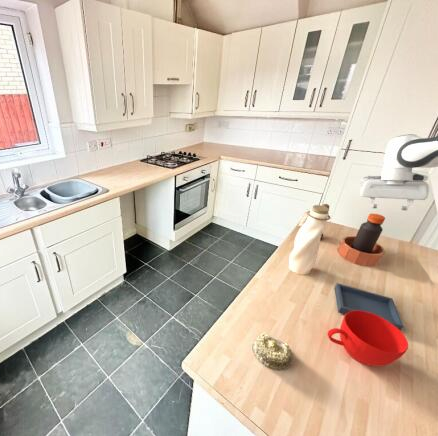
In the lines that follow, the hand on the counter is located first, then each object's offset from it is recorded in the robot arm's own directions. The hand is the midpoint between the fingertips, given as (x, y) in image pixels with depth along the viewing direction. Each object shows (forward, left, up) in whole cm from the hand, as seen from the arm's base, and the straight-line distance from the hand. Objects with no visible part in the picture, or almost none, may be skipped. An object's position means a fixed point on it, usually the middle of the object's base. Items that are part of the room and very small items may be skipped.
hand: (388, 209), depth 103 cm
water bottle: (+29, +32, -20) cm, 47 cm away
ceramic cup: (+15, +66, -20) cm, 70 cm away
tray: (+9, +45, -20) cm, 50 cm away
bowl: (+6, +11, -20) cm, 23 cm away
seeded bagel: (+35, +77, -20) cm, 86 cm away
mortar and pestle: (+22, +2, -20) cm, 30 cm away
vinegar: (+6, +11, -20) cm, 23 cm away
